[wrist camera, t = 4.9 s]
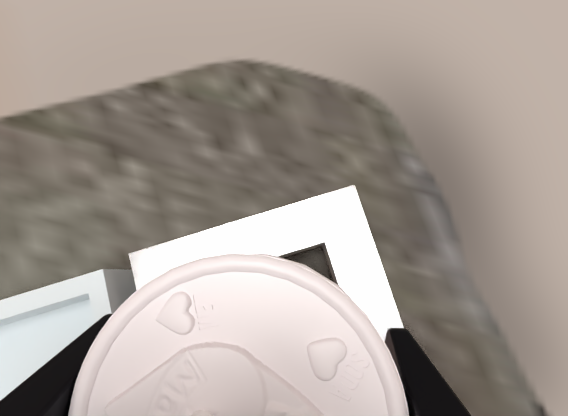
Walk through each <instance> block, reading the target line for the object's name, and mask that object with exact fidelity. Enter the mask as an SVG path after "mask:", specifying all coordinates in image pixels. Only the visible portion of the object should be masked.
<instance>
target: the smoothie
mask: <svg viewBox="0 0 568 416" xmlns="http://www.w3.org/2000/svg"><path fill="white" fill-rule="evenodd" d="M68 416H409V413H408V406H407V401H406V397H405V393H404V388H403V385H402V382H401V379H400V376H399V373H398V370H397V367H396V365H395V363H394V360H393V358H392V356H391V354H390V351H389V349H388V348H387V346H386V344H385V342H384V340H383V339H382V337H381V335H380V334H379V332H378V331H377V329H376V328H375V326H374V325H373V324H372V322H371V320H370V319H369V317H368V315H367V314H366V313H365V312H364V311H363V310H362V309H361V308H360V307H359V306H358V305H357V304H356V303H355V302H354V301H353V299H352V298H351V297H350V296H349V295H348V294H347V293H346V292H345V291H344V290H343V289H342V288H341V287H340V286H339V285H338V284H336V283H334V282H333V281H331V280H329V279H328V278H326V277H324V276H323V275H321V274H319V273H318V272H316V271H314V270H313V269H311V268H310V267H308V266H306V265H304V264H301V263H298V262H294V261H291V260H287V259H284V258H280V257H277V256H273V255H270V254H250V253H228V254H221V255H213V256H208V257H203V258H199V259H196V260H193V261H189V262H186V263H184V264H181V265H179V266H176V267H174V268H172V269H170V270H168V271H166V272H164V273H162V274H160V275H158V276H157V277H155V278H154V279H152V280H151V281H149V282H148V283H146V284H145V285H143V286H142V287H141V288H140V289H138V290H137V291H136V292H135V293H133V294H132V295H131V296H130V297H129V298H128V299H127V300H126V301H125V302H124V303H123V304H122V305H121V306H120V307H119V308H118V309H117V310H116V311H115V312H114V313H113V315H112V316H111V317H110V318H109V319H108V321H107V322H106V324H105V325H104V326H103V328H102V329H101V330H100V332H99V333H98V335H97V337H96V338H95V340H94V342H93V344H92V345H91V347H90V349H89V351H88V353H87V355H86V357H85V359H84V361H83V364H82V366H81V369H80V372H79V374H78V377H77V380H76V383H75V387H74V390H73V394H72V398H71V403H70V408H69V414H68Z"/></svg>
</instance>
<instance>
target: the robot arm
mask: <svg viewBox="0 0 568 416" xmlns="http://www.w3.org/2000/svg"><path fill="white" fill-rule="evenodd" d="M112 315H113V314H106V315H104V316H103V317H102V318H100V319H99V320H98V321H97V322H96V323H94V324H93V325H92V326H91V327H89V328H88V329H87V330H86V331H85V332H83V333H82V334H81V335H80V336H78V337H77V338H76V339H75V340H74V341H72V342H71V343H70V344H69V345H67V346H66V347H65V348H64V349H63V350H61V351H60V352H59V353H58V354H56V355H55V356H54V357H53V358H52V359H50V360H49V361H48V362H47V363H45V364H44V365H43V366H42V367H41V368H39V369H38V370H37V371H36V372H35V373H33V374H32V375H31V376H30V377H28V378H27V379H26V380H25V381H24V382H22V383H21V384H20V385H19V386H17V387H16V388H15V389H14V390H13V391H11V392H10V393H9V394H8V395H6V396H5V397H4V398H3V399H2V400H0V416H68V414H69V408H70V403H71V398H72V394H73V390H74V387H75V383H76V380H77V377H78V374H79V372H80V369H81V366H82V364H83V361H84V359H85V357H86V355H87V353H88V351H89V349H90V347H91V345H92V344H93V342H94V340H95V338H96V337H97V335H98V333H99V332H100V330H101V329H102V328H103V326H104V325H105V324H106V322H107V321H108V319H109V318H110V317H111V316H112ZM385 344H386V346H387V348H388V349H389V351H390V354H391V356H392V358H393V360H394V363H395V365H396V367H397V370H398V373H399V376H400V379H401V382H402V385H403V388H404V393H405V397H406V401H407V406H408V413H409V416H471V415H470V413H469V412H468V411H467V409H466V408H465V407H464V405H463V404H462V403H461V401H460V400H459V399H458V397H457V396H456V395H455V393H454V392H453V390H452V389H451V388H450V386H449V385H448V384H447V382H446V381H445V380H444V378H443V377H442V376H441V374H440V373H439V372H438V370H437V369H436V368H435V366H434V365H433V364H432V362H431V361H430V360H429V358H428V357H427V355H426V354H425V353H424V351H423V350H422V349H421V347H420V346H419V345H418V343H417V342H416V341H415V339H414V338H413V337H412V335H411V334H410V333H409V331H408V330H406V329H405V328H389V329H388V330H387V333H386V338H385Z"/></svg>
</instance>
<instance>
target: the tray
mask: <svg viewBox="0 0 568 416" xmlns="http://www.w3.org/2000/svg"><path fill="white" fill-rule="evenodd" d="M136 291H137V290H136V285H135V280H134V276H133V271H132V270H123V269H101V270H98V271H95V272H92V273H88V274H85V275H82V276H78V277H75V278H72V279H69V280H65V281H62V282H59V283H55V284H52V285H49V286H46V287H42V288H39V289H36V290H33V291H29V292H26V293H23V294H19V295H16V296H13V297H10V298H6V299H3V300H0V400H2V399H3V398H4V397H5V396H6V395H8V394H9V393H10V392H11V391H13V390H14V389H15V388H16V387H17V386H19V385H20V384H21V383H22V382H24V381H25V380H26V379H27V378H28V377H30V376H31V375H32V374H33V373H35V372H36V371H37V370H38V369H39V368H41V367H42V366H43V365H44V364H45V363H47V362H48V361H49V360H50V359H52V358H53V357H54V356H55V355H56V354H58V353H59V352H60V351H61V350H63V349H64V348H65V347H66V346H67V345H69V344H70V343H71V342H72V341H74V340H75V339H76V338H77V337H78V336H80V335H81V334H82V333H83V332H85V331H86V330H87V329H88V328H89V327H91V326H92V325H93V324H94V323H96V322H97V321H98V320H99V319H100V318H102V317H103V316H104V315H106V314H113V313H114V312H115V311H116V310H117V309H118V308H119V307H120V306H121V305H122V304H123V303H124V302H125V301H126V300H127V299H128V298H129V297H130V296H131V295H132V294H133V293H135V292H136Z"/></svg>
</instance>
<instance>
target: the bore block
mask: <svg viewBox="0 0 568 416" xmlns="http://www.w3.org/2000/svg"><path fill="white" fill-rule="evenodd" d="M320 246H322V247H323V250H324V253H325V257H326V260H327V263H328V266H329V269H330V272H331V275H332V279H333V282H334V283H336V284H338V285H339V286H340V287H341V288H342V289H343V290H344V291H345V292H346V293H347V294H348V295H349V296H350V297H351V298H352V299H353V301H354V302H355V303H356V304H357V305H358V306H359V307H360V308H361V309H362V310H363V311H364V312H365V313H366V314H367V315H368V317H369V319H370V320H371V322H372V324H373V325H374V326H375V328H376V329H377V331H378V332H379V334H380V335H381V337H382V339H383V340H384V342H385V338H386V333H387V330H388V329H389V328H404V327H403V324H402V321H401V318H400V315H399V313H398V310H397V307H396V304H395V301H394V298H393V295H392V292H391V289H390V287H389V284H388V281H387V278H386V275H385V272H384V269H383V266H382V263H381V261H380V258H379V255H378V252H377V249H376V246H375V243H374V240H373V237H372V235H371V232H370V229H369V226H368V223H367V220H366V217H365V214H364V212H363V209H362V206H361V203H360V200H359V197H358V194H357V191H356V188H355V186H354V185H353V186H349V187H346V188H343V189H340V190H336V191H333V192H330V193H326V194H323V195H320V196H317V197H313V198H310V199H307V200H303V201H300V202H297V203H294V204H290V205H287V206H284V207H281V208H277V209H274V210H271V211H267V212H264V213H261V214H258V215H254V216H251V217H248V218H244V219H241V220H238V221H235V222H231V223H228V224H225V225H222V226H218V227H215V228H212V229H208V230H205V231H202V232H199V233H195V234H192V235H189V236H185V237H182V238H179V239H176V240H172V241H169V242H166V243H163V244H159V245H156V246H153V247H149V248H146V249H143V250H140V251H136V252H133V253H130V254H129V257H130V262H131V267H132V271H133V276H134V280H135V285H136V290H138V289H140V288H141V287H142V286H143V285H145V284H146V283H148V282H149V281H151V280H152V279H154V278H155V277H157V276H158V275H160V274H162V273H164V272H166V271H168V270H170V269H172V268H174V267H176V266H179V265H181V264H184V263H186V262H189V261H193V260H196V259H199V258H203V257H208V256H213V255H221V254H228V253H250V254H270V255H273V256H277V257H280V258H284V257H287V256H291V255H294V254H297V253H301V252H304V251H307V250H310V249H314V248H317V247H320Z"/></svg>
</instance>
